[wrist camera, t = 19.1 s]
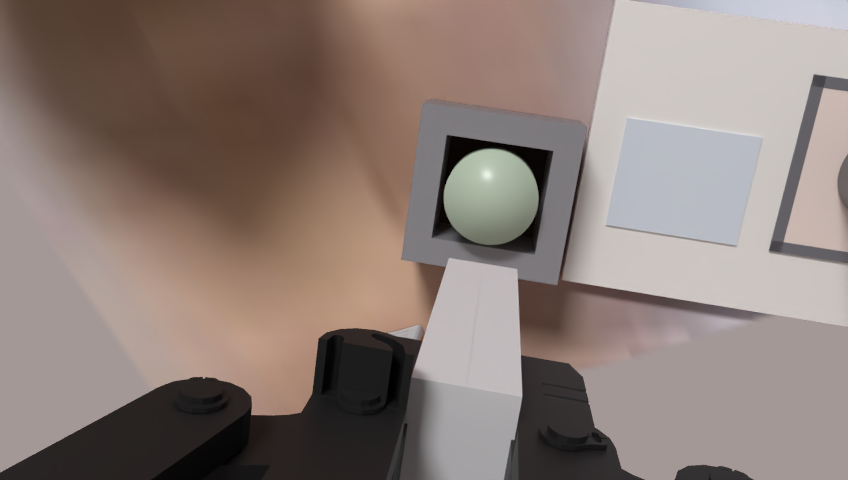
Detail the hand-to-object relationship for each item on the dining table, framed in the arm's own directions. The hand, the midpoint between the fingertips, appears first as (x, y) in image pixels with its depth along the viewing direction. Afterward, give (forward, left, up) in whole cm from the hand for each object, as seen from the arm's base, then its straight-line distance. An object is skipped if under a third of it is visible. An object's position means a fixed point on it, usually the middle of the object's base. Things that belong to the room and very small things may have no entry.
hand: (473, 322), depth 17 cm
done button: (0, 0, -18) cm, 18 cm away
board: (-13, -2, -20) cm, 24 cm away
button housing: (0, 0, -20) cm, 20 cm away
